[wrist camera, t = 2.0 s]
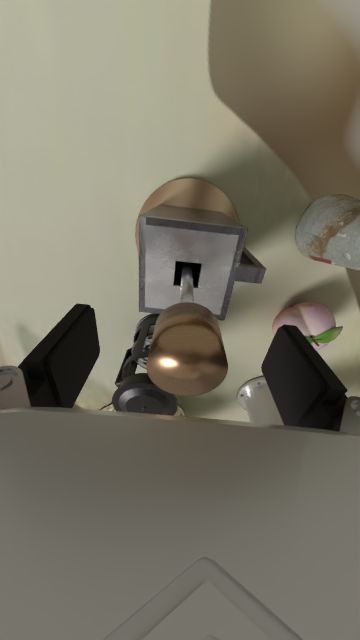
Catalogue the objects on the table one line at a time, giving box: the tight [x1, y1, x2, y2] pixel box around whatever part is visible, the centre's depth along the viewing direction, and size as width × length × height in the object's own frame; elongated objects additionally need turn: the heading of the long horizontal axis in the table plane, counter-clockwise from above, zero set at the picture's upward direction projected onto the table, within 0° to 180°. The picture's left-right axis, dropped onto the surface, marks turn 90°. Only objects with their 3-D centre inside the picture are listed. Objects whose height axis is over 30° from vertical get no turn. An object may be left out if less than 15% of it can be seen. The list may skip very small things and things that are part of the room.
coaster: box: [135, 178, 239, 253], centre depth 32 cm, size 16×16×1 cm
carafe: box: [139, 204, 266, 320], centre depth 26 cm, size 12×9×15 cm
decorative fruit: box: [272, 302, 343, 351], centre depth 35 cm, size 9×8×10 cm
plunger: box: [146, 261, 228, 396], centre depth 17 cm, size 6×6×19 cm
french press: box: [112, 314, 178, 416], centre depth 33 cm, size 12×9×23 cm
